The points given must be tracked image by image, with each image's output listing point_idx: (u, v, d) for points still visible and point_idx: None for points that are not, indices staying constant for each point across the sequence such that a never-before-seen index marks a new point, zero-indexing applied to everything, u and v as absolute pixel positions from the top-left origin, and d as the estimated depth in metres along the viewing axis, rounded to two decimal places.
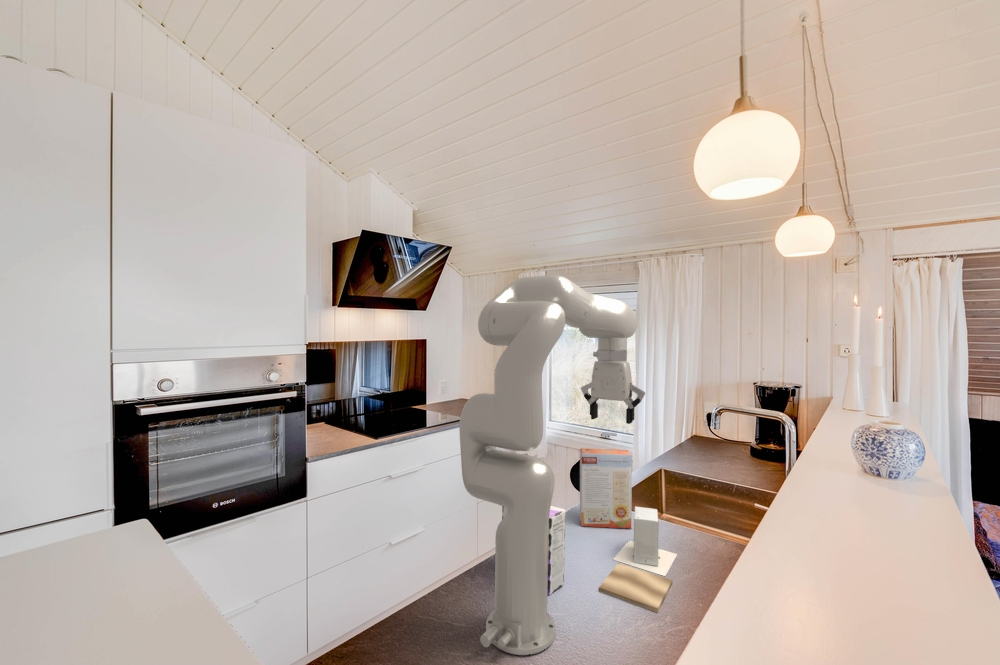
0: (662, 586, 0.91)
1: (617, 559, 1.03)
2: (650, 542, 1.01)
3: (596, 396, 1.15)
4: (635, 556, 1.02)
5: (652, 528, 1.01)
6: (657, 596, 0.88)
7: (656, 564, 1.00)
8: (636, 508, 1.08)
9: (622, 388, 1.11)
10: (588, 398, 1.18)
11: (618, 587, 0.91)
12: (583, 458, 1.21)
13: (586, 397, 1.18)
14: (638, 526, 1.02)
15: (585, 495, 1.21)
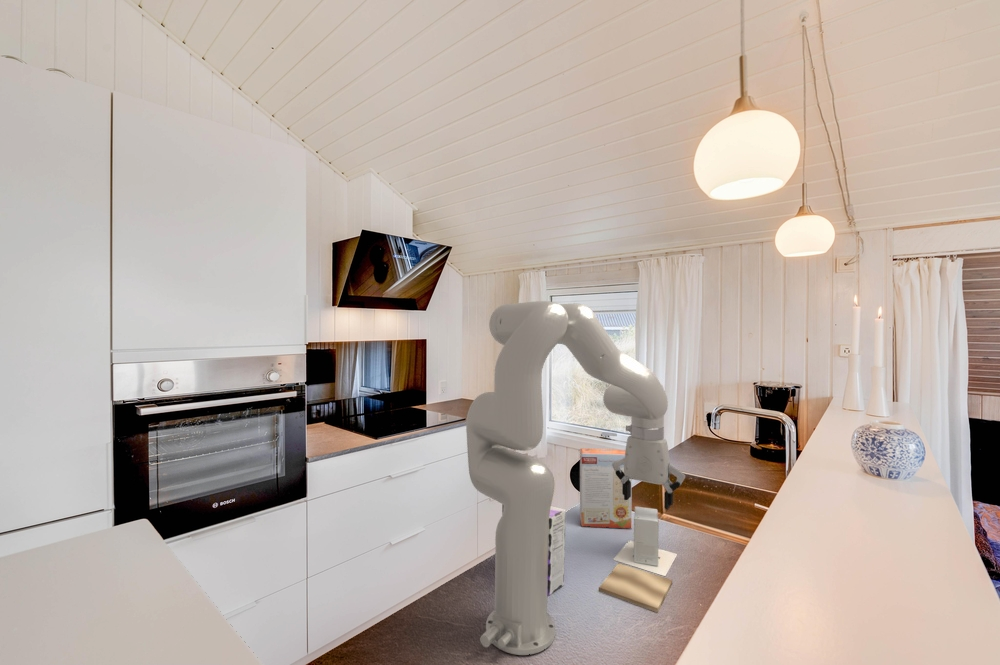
0: (662, 586, 0.91)
1: (617, 559, 1.03)
2: (650, 542, 1.01)
3: (630, 476, 1.04)
4: (635, 556, 1.02)
5: (652, 528, 1.01)
6: (657, 596, 0.88)
7: (656, 564, 1.00)
8: (636, 508, 1.08)
9: (660, 471, 1.01)
10: (620, 476, 1.08)
11: (618, 587, 0.91)
12: (583, 458, 1.21)
13: (618, 475, 1.08)
14: (638, 526, 1.02)
15: (585, 495, 1.21)
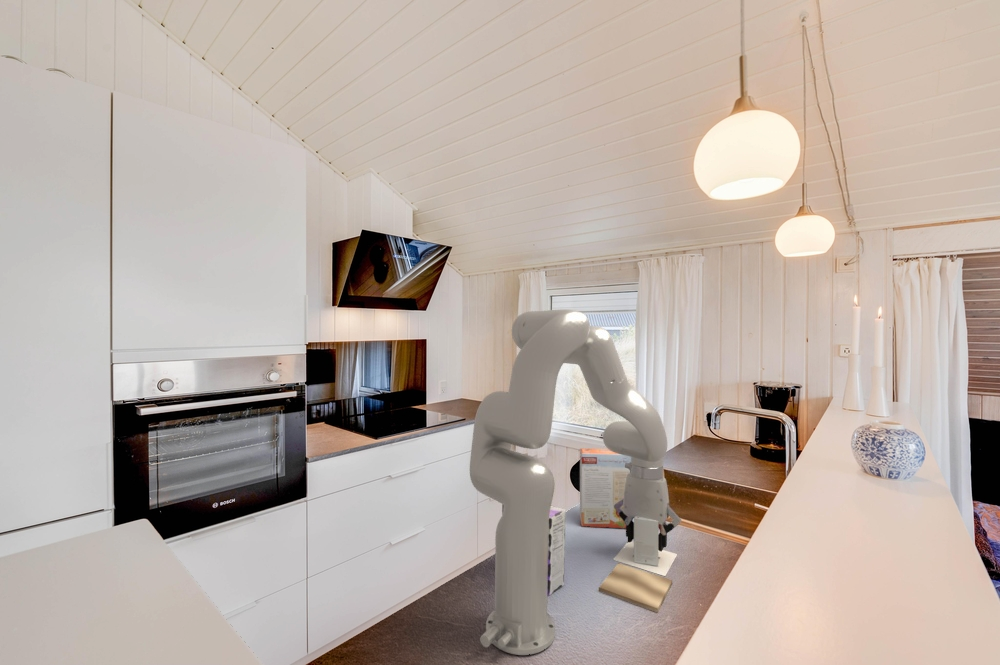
0: (662, 586, 0.91)
1: (617, 559, 1.03)
2: (650, 542, 1.01)
3: (629, 515, 1.04)
4: (635, 556, 1.02)
5: (652, 528, 1.01)
6: (657, 596, 0.88)
7: (656, 564, 1.00)
8: None
9: (659, 511, 1.00)
10: (623, 518, 1.07)
11: (618, 587, 0.91)
12: (583, 458, 1.21)
13: (622, 516, 1.07)
14: (638, 526, 1.02)
15: (585, 495, 1.21)
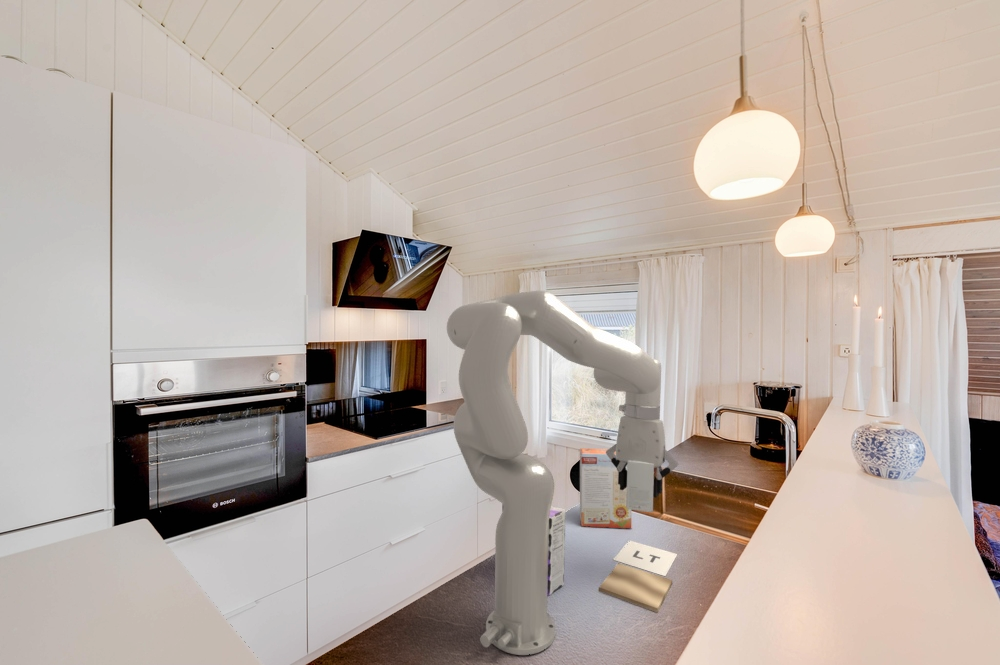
0: (662, 586, 0.91)
1: (617, 559, 1.03)
2: (645, 486, 0.93)
3: (622, 459, 0.97)
4: (628, 502, 0.94)
5: (647, 471, 0.93)
6: (657, 596, 0.88)
7: (650, 510, 0.92)
8: None
9: (655, 452, 0.93)
10: (616, 465, 0.99)
11: (618, 587, 0.91)
12: (583, 458, 1.21)
13: (614, 462, 0.99)
14: (632, 470, 0.94)
15: (585, 495, 1.21)
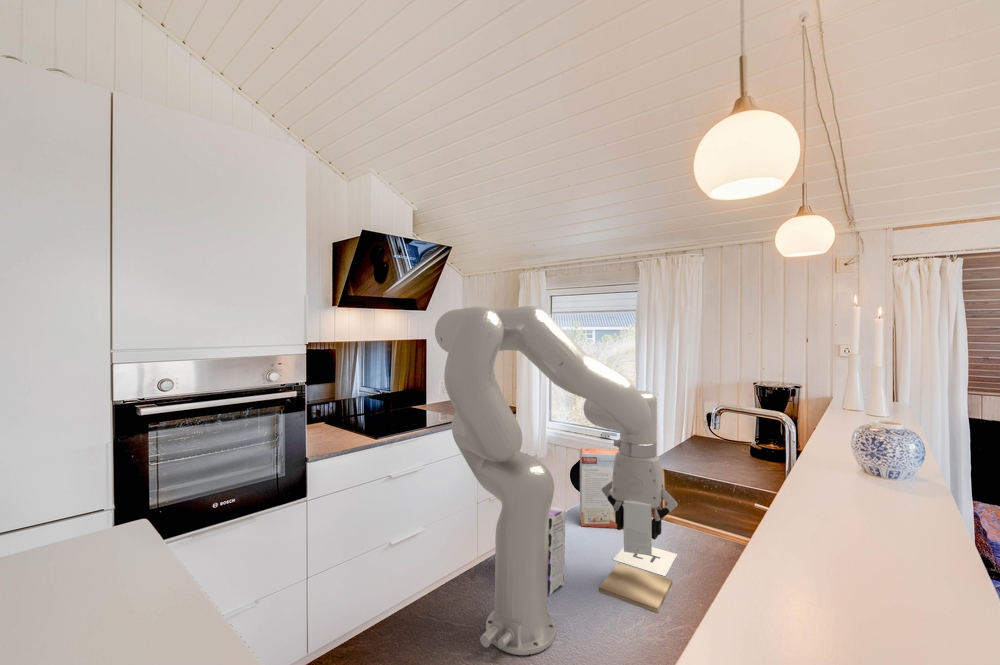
0: (662, 586, 0.91)
1: (617, 559, 1.03)
2: (643, 528, 0.88)
3: (618, 499, 0.92)
4: (625, 545, 0.89)
5: (644, 512, 0.88)
6: (657, 596, 0.88)
7: (649, 554, 0.88)
8: None
9: (652, 493, 0.88)
10: (612, 503, 0.95)
11: (618, 587, 0.91)
12: (583, 458, 1.21)
13: (610, 501, 0.95)
14: (629, 511, 0.89)
15: (585, 495, 1.21)
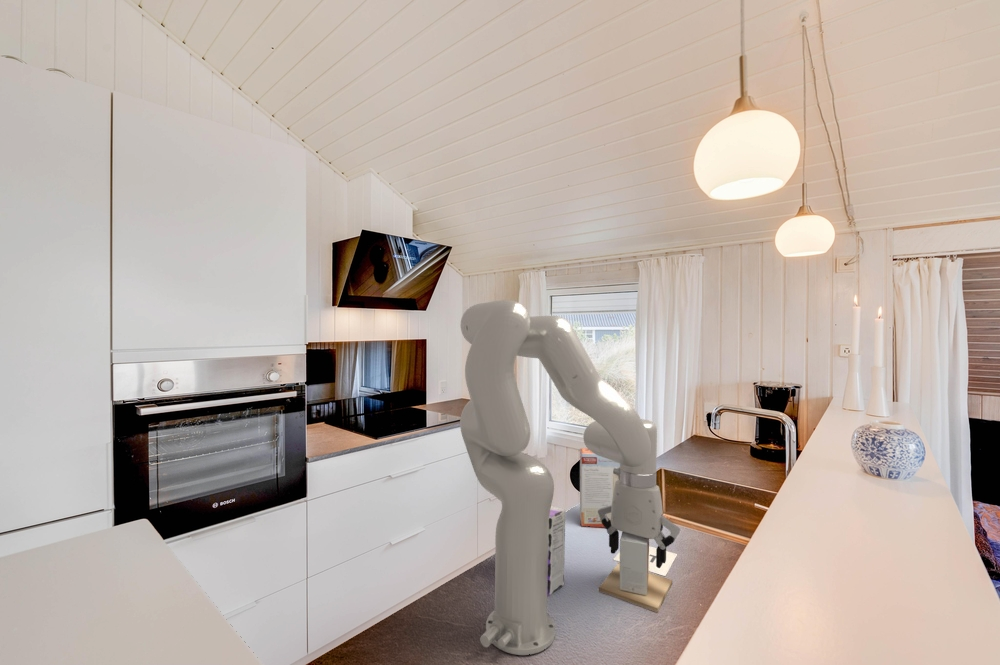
0: (662, 586, 0.91)
1: (617, 559, 1.03)
2: (638, 567, 0.88)
3: (617, 528, 0.92)
4: (621, 583, 0.89)
5: (640, 552, 0.88)
6: (657, 596, 0.88)
7: (645, 593, 0.88)
8: None
9: (651, 523, 0.88)
10: (607, 526, 0.95)
11: (618, 587, 0.91)
12: (583, 458, 1.21)
13: (604, 524, 0.95)
14: (625, 549, 0.89)
15: (585, 495, 1.21)
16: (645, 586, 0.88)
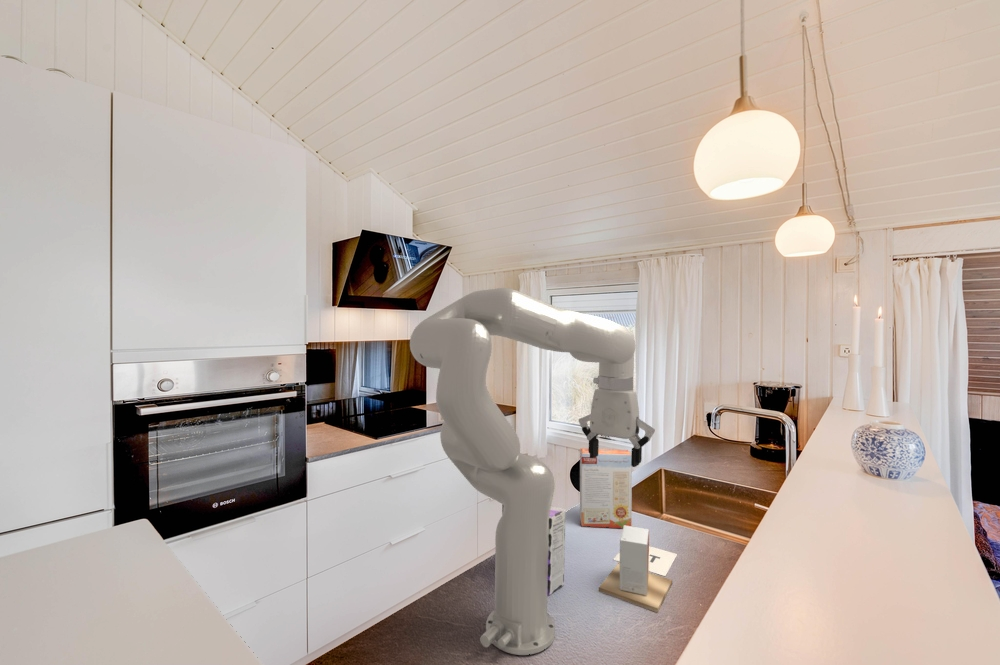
0: (662, 586, 0.91)
1: (617, 559, 1.03)
2: (638, 567, 0.88)
3: (596, 431, 0.96)
4: (621, 583, 0.89)
5: (640, 552, 0.88)
6: (657, 596, 0.88)
7: (645, 593, 0.88)
8: (625, 527, 0.95)
9: (627, 424, 0.92)
10: (587, 433, 0.99)
11: (618, 587, 0.91)
12: (583, 458, 1.21)
13: (584, 431, 1.00)
14: (625, 549, 0.89)
15: (585, 495, 1.21)
16: (645, 586, 0.88)
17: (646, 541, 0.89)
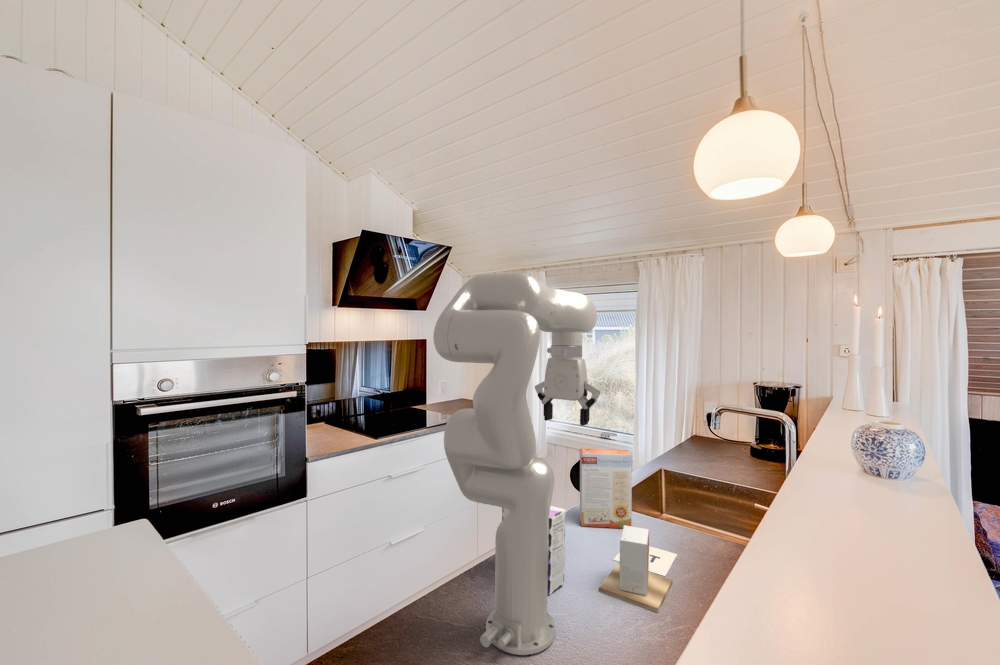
0: (662, 586, 0.91)
1: (617, 559, 1.03)
2: (638, 567, 0.88)
3: (549, 395, 1.06)
4: (621, 583, 0.89)
5: (640, 552, 0.88)
6: (657, 596, 0.88)
7: (645, 593, 0.88)
8: (625, 527, 0.95)
9: (575, 387, 1.02)
10: (542, 398, 1.09)
11: (618, 587, 0.91)
12: (583, 458, 1.21)
13: (540, 397, 1.10)
14: (625, 549, 0.89)
15: (585, 495, 1.21)
16: (645, 586, 0.88)
17: (646, 541, 0.89)
